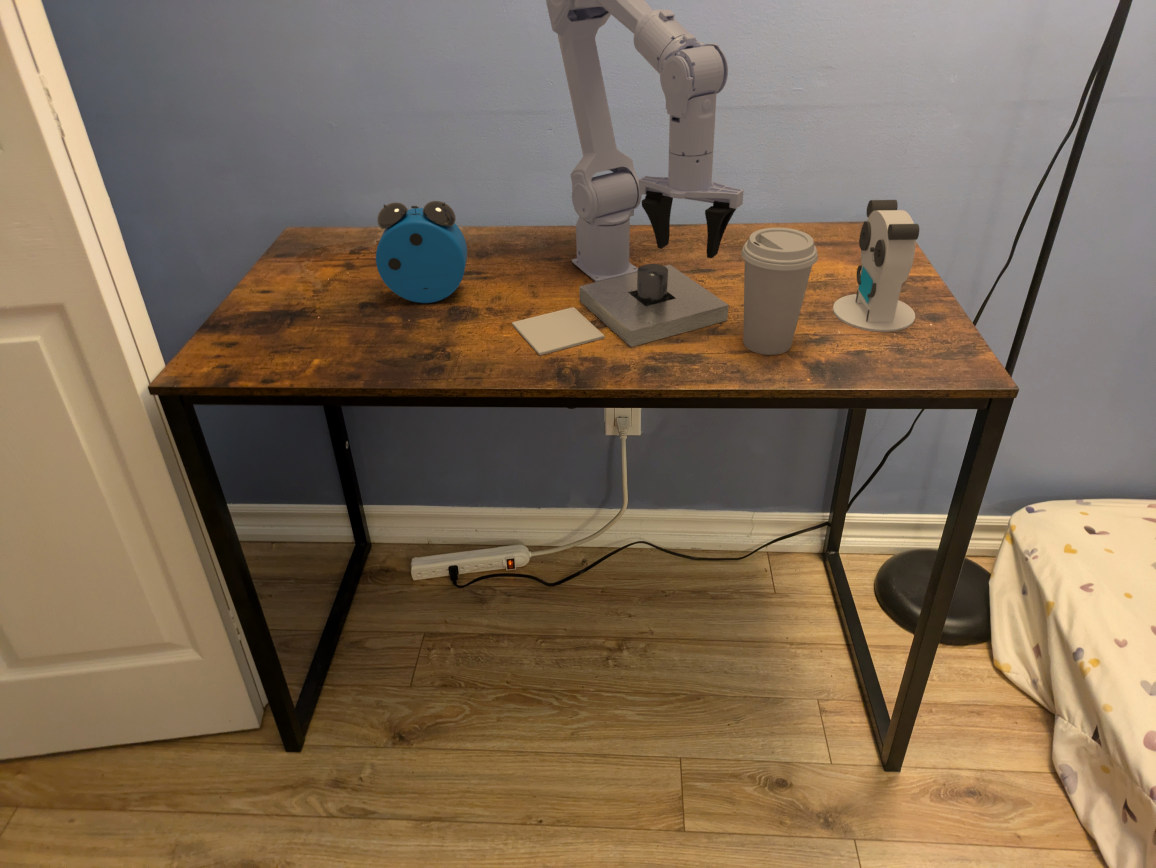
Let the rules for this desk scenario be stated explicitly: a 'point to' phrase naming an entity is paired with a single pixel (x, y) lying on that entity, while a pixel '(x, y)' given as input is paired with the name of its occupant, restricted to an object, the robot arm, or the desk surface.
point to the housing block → (652, 307)
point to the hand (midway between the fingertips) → (687, 250)
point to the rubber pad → (557, 331)
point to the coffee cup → (775, 287)
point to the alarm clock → (420, 251)
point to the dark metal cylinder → (652, 284)
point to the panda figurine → (881, 271)
